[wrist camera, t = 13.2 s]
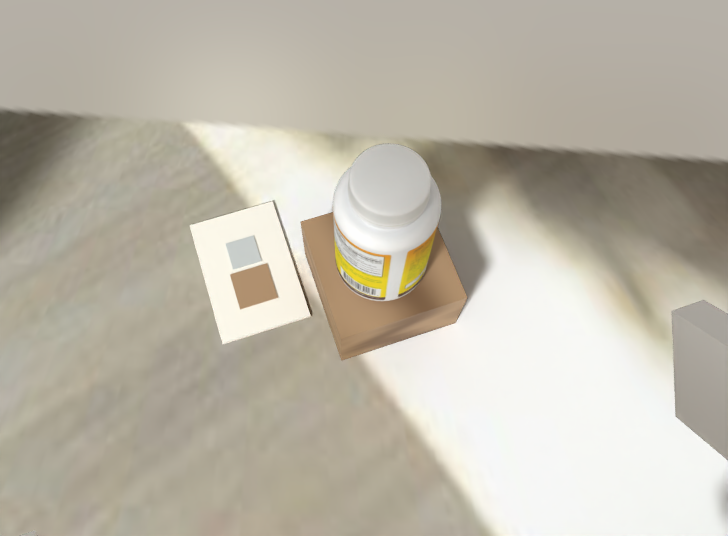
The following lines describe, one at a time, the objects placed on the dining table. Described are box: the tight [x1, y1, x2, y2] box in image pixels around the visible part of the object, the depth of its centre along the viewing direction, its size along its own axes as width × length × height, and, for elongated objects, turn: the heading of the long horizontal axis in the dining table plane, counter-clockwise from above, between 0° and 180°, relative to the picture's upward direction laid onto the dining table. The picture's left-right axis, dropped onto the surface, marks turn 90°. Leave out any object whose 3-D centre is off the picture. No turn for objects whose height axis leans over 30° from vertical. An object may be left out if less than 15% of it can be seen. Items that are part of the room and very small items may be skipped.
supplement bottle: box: [333, 143, 441, 301], centre depth 37 cm, size 6×6×10 cm
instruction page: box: [190, 201, 311, 344], centre depth 47 cm, size 6×9×1 cm, turn 19°
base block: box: [301, 212, 467, 360], centre depth 45 cm, size 8×8×5 cm
